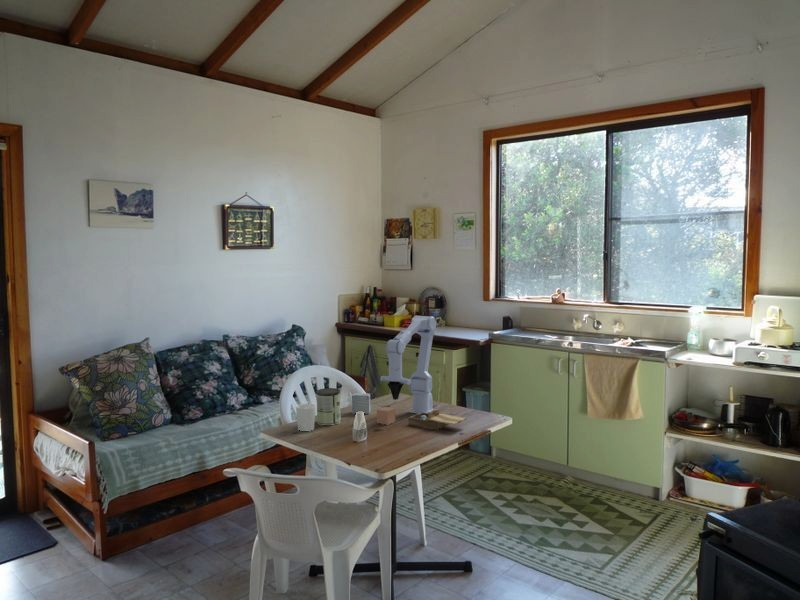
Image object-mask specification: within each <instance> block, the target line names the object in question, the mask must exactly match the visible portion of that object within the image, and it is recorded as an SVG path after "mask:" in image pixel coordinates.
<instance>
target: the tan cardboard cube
mask: <svg viewBox="0 0 800 600" xmlns="http://www.w3.org/2000/svg"><path fill="white" fill-rule="evenodd" d="M376 423H377V424H379V423H381V424H380V425H384V424H386V425H385V426H389V425H391V423H392V424H395V423H396V408H395V407H394V408H393V407H390V406H383V407H381V408H378V409H376Z"/></svg>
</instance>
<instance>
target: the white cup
mask: <svg viewBox="0 0 800 600" xmlns="http://www.w3.org/2000/svg"><path fill="white" fill-rule="evenodd" d="M295 411H296V412H295V413H296V414H295V415H296V423H297V430H298V431H299V430H300V431H299V432H301V431H309V432H312V431H314V430H315V422H316V417H315V416H316V405H315V404H313V403H300V404H298V405H296V406H295ZM311 430H312V431H311Z"/></svg>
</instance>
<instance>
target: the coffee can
mask: <svg viewBox="0 0 800 600" xmlns="http://www.w3.org/2000/svg"><path fill="white" fill-rule="evenodd" d="M315 393H316V394H315V395H316V416H317V417H316V420H317V421H316V423H318V424H317V425H318V426H322V425H332V426H336V425H335V424H337V425H339V424H341V423H342V421H341V419H342V418H341V389H339V388H334V387H327V388H320V389H317V390H315Z"/></svg>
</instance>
